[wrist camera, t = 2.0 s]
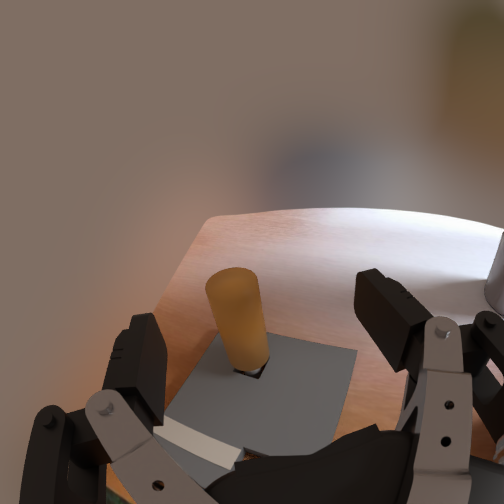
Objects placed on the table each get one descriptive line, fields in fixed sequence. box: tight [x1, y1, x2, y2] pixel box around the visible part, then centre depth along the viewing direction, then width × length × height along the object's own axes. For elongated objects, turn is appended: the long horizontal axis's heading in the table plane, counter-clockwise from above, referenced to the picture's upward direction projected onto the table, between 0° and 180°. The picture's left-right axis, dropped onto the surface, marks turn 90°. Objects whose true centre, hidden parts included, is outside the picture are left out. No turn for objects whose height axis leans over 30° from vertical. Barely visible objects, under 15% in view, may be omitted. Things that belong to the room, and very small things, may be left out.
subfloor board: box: [153, 332, 358, 488], centre depth 26 cm, size 20×17×2 cm
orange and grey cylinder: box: [205, 267, 269, 379], centre depth 27 cm, size 4×4×14 cm
